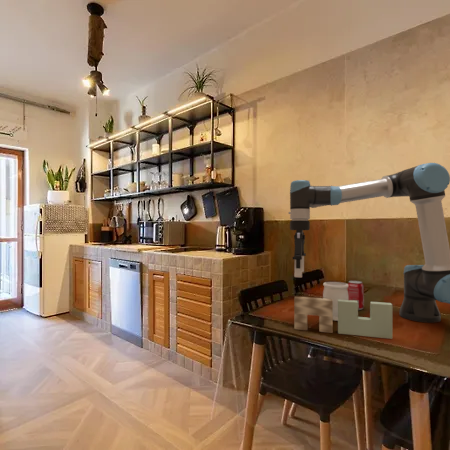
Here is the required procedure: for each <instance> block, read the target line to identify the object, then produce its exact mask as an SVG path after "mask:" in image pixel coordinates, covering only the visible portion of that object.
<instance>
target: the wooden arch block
mask: <svg viewBox="0 0 450 450" xmlns="http://www.w3.org/2000/svg"><path fill="white" fill-rule="evenodd" d="M293 299H294V300H293V301H294V303H293V304H294V308H293V309H294V313H293V316H294V317H293V318H294V319H293V321H294V325H293V326H294V328H293V330H299V331H300V330H301V331H308V316H318V317H319V319H318V322H319V323H318V327H319V328H318V329H319V331H318V332H321V333H330V334H331V333H332V334H333V328H334V327H333V325H334V324H333V321H334V320H333V300H332V299H325V298H323V297H322V298H321V297H309V296H294V298H293Z"/></svg>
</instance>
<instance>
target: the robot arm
mask: <svg viewBox="0 0 450 450" xmlns="http://www.w3.org/2000/svg"><path fill="white" fill-rule="evenodd" d="M449 185H450V173H449V171H448V169H447V168H446V167H444V166H442V165H441V164H440V163H437V162H427V163H421V164H418V165H416V166H413V167H410V168H408V169H404V170H402V171H398V172H396V173H393V174H389V175H384V176H382V177H381V178H378V179H373V180H367V181H362V182H354V183H349V184H343V185H336V186H334V185H311V182H310V180H305V179H296V180H293V181H291V182H290V187H289V188H290V189H289V209H290V211H289V212H288V215H289V219H290V221H289V230H290V231H296V232H295V233H294V235H293V239H294V242H293V243H294V255H293V256H292V260H294V272H293V273H294V275H293V276H294V278H303V273H304V272H305V256H307V255H306V253H305V240H306V235H305V232H304V231H310V229H311V227H310V226H311V224H310V219H311V209H315V208H320V207H325V206H338V205H340V204H344V203H351V202H355V201H356V202H357V201H362V200H367V199H368V200H369V199H373V198H379V197H380V198H381V197H383V198H386V199H387V198H388V199H390V198H396V197H397V198H398V197H409V202H411V204H413V205H414V206H415V212H416V216H417V222H418V228H419V234H420V239H421V246H422V250H423V251H422V252H423V257H424V264H407V265H405V266H404V267H403V299H402V303H401V305H400V308H399V316H400V317H401V318H403V319H405V320H409V321H414V322H421V323H430V324H431V323H433V324H434V323H439V322H441V320H442V319H441V317H442V314H441V312H440V310H439V307H438V305H437V302H440V303H445V304H449V305H450V243H449V237H448V231H447V226H446V220H445V213H444V209H443V203H442V201H443V200H444V198H445V197H446V192H445V190H447V188H448V186H449ZM436 301H437V302H436Z"/></svg>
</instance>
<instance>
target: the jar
mask: <svg viewBox="0 0 450 450" xmlns="http://www.w3.org/2000/svg"><path fill="white" fill-rule="evenodd" d="M322 285H323V286H324V287H323V291H322V298H325V299H332V300H333V321H337V322H338V299H340V300H349V296H348V283H346V282H341V281H325V282H323V284H322Z"/></svg>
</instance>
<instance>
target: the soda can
mask: <svg viewBox="0 0 450 450" xmlns="http://www.w3.org/2000/svg"><path fill="white" fill-rule="evenodd" d="M347 284H348V288H347V290H348V296H349V300H355V301H357V302H358V311H362V310H363V309H364V307H365V293H364V292H365V291H364V289H365V288H364V284H363V281H361V280H360V281H359V280H349V281H348V283H347Z"/></svg>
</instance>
